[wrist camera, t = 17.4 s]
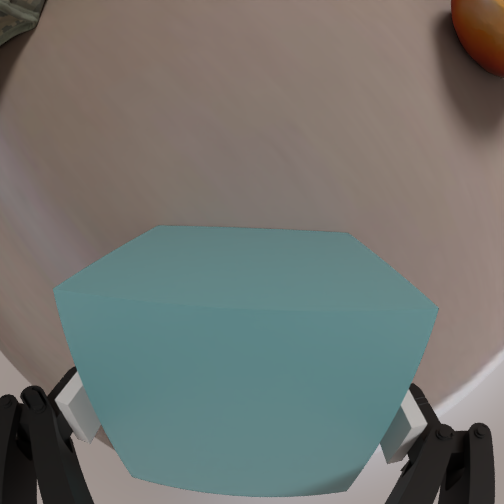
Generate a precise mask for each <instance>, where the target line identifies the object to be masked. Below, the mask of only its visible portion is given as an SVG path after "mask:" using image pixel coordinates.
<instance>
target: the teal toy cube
mask: <svg viewBox="0 0 504 504" xmlns="http://www.w3.org/2000/svg"><path fill="white" fill-rule="evenodd" d="M53 291H54V296H55V300H56V304H57V308H58V312H59V316H60V319H61V323H62V326H63V330H64V333H65V336H66V340H67V343H68V346H69V349H70V352H71V355H72V357H73V360H74V363H75V366H76V368H77V371H78V374H79V376H80V379H81V381H82V384H83V386H84V388H85V391H86V393H87V395H88V398H89V400H90V402H91V404H92V406H93V409H94V411H95V413H96V415H97V417H98V419H99V421H100V423H101V425H102V427H103V429H104V431H105V432H106V434H107V436H108V438H109V440H110V442H111V443H112V445H113V447H114V449H115V450H116V452H117V454H118V455H119V457H120V459H121V460H122V462H123V464H124V465H125V467H126V468H127V470H128V471H129V473H130V474H131V476H132V477H134V478H138V479H141V480H145V481H149V482H153V483H157V484H161V485H166V486H171V487H176V488H180V489H186V490H192V491H198V492H205V493H213V494H223V495H233V496H250V497H293V496H309V495H321V494H329V493H337V492H344V491H347V490H348V489H349V487H350V486H351V485H352V483H353V482H354V481H355V479H356V478H357V476H358V475H359V474H360V472H361V471H362V469H363V468H364V466H365V465H366V463H367V462H368V461H369V459H370V457H371V456H372V454H373V453H374V451H375V450H376V448H377V446H378V445H379V443H380V442H381V440H382V438H383V436H384V435H385V433H386V431H387V430H388V428H389V426H390V424H391V422H392V421H393V419H394V417H395V415H396V413H397V411H398V409H399V407H400V405H401V403H402V401H403V399H404V397H405V395H406V393H407V391H408V389H409V387H410V385H411V382H412V380H413V378H414V376H415V373H416V371H417V368H418V366H419V364H420V361H421V359H422V356H423V354H424V351H425V348H426V346H427V343H428V340H429V337H430V334H431V332H432V329H433V326H434V323H435V319H436V316H437V313H438V310H439V308H438V307H437V306H436V305H435V304H434V303H433V302H432V301H431V300H429V299H428V298H427V297H426V296H425V295H424V294H423V293H422V292H420V291H419V290H418V289H417V288H416V287H415V286H413V285H412V284H411V283H410V282H409V281H408V280H406V279H405V278H404V277H403V276H402V275H400V274H399V273H398V272H397V271H396V270H394V269H393V268H392V267H391V266H390V265H388V264H387V263H386V262H385V261H383V260H382V259H381V258H380V257H378V256H377V255H376V254H375V253H373V252H372V251H371V250H370V249H368V248H367V247H366V246H365V245H363V244H362V243H361V242H359V241H358V240H357V239H356V238H354V237H353V236H352V235H350V234H349V233H341V232H324V231H305V230H284V229H262V228H236V227H204V226H160V225H158V226H156V227H154V228H153V229H151V230H149V231H147V232H145V233H144V234H142V235H140V236H138V237H137V238H135V239H133V240H131V241H129V242H128V243H126V244H124V245H123V246H121V247H119V248H117V249H116V250H114V251H112V252H111V253H109V254H107V255H106V256H104V257H102V258H101V259H99V260H97V261H96V262H94V263H92V264H91V265H89V266H88V267H86V268H84V269H83V270H81V271H80V272H78V273H76V274H75V275H73V276H72V277H70V278H69V279H67V280H66V281H64V282H62V283H61V284H59V285H58V286H56V287H55V288H53Z"/></svg>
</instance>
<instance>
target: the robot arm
mask: <svg viewBox="0 0 504 504" xmlns="http://www.w3.org/2000/svg"><path fill="white" fill-rule="evenodd" d="M20 398H21V399H22V401H23V403H24V404H22V403H19V402H18V401H17V399H16V398H15V397H14V396H13V395H10V394H8V395H4V396H2V397H1V398H0V504H37V480H38V485H39V489H40V493H41V497H42V500H43V504H94V502H93V500H92V497H91V495H90V492H89V490H88V487H87V484H86V482H85V479H84V476H83V473H82V471H81V468H80V465H79V461H78V458H77V455H76V452H75V448H74V445H73V441H72V439H71V437H70V436H71V434H72V432H74V434H75V436H76V437H77V439H79V440H82V441H84V442H87V443H90V444H91V442H92V440H93V438H94V436H95V435H96V433H97V431H98V429H99V427H100V426H101V423H100V421H99V419H98V417H97V415H96V413H95V411H94V409H93V406H92V404H91V402H90V400H89V398H88V395H87V393H86V391H85V388H84V386H83V384H82V381H81V379H80V376H79V374H78V371H77V368H76V366H75V367H73V368H71V369H70V370H69V371H68V372H67V373H66V374H65V375H64V377H63V378H62V379H61V380H60V382H59V383H58V384H57V385H56V386H55V387H54V389H53V390H52V391H51V392H50V394H49V395H48V396H46V394H45V392H44V390H43V389H42V388H41V387H39V386H29V387H27V388H25V389H24V390H23V391H22V393H21V396H20ZM380 445H381V447H382V450H383V453H384V456H385V459H386V462H387V464H390V463H394V462H398V461H402V460H403V458H404V457H405V456H406V454H408V457H409V461H408V462H407V463H406V465H405V466H404V467H403V468H402V469H401V471H403V472H402V474H401V476H400V478H399V479H398V481H397V483H396V485H395V487H394V489H393V490H392V492H391V494H390V496H389V497H388V499H387V501H386V503H385V504H433V502H434V500H435V497H436V495H437V492H438V490H439V487H440V494H439V501H438V504H494V502H495V476H494V475H495V472H494V456H493V445H492V436H491V431H490V429H489V428H488V426H487V425H485V424H483V423H475V424H473V425H472V426H471V427H470V429H469V430H468V431H454V430H453V429H452V428H451V427H450V426H448V425H446V424H441V423H440V421H439V420H438V418H437V416H436V414H435V413H434V411H433V409H432V407H431V406H430V404H429V403H428V400H427V399H426V398H425V395H424V394H423V392H422V390H421V389H420V388H419V387H418V386H416V385H415V384H414V383H412V384H411V385H410V387H409V389H408V391H407V393H406V395H405V397H404V399H403V401H402V403H401V405H400V407H399V409H398V411H397V413H396V415H395V417H394V419H393V421H392V422H391V424H390V426H389V428H388V430H387V431H386V433H385V435H384V436H383V438H382V440H381V442H380ZM440 485H441V486H440Z"/></svg>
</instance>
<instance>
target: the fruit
mask: <svg viewBox="0 0 504 504" xmlns="http://www.w3.org/2000/svg"><path fill="white" fill-rule="evenodd" d="M451 12H452V20H453V25H454V28H455V30H456V33H457V35H458V38H459V40H460V42H461V44H462V46H463V47H464V49H465V50H466V51H467V53H468V54H469V55H470V56H471V57H472V58H473V59H474V60H475V61H476V62H477V63H478V64H479V65H480V66H481V67H482V68H484V69H485V70H486V71H487V72H489V73H492V74H494V75H496V76H499V77H501V78H504V0H451Z"/></svg>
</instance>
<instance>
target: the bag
mask: <svg viewBox="0 0 504 504" xmlns="http://www.w3.org/2000/svg"><path fill="white" fill-rule="evenodd" d="M44 1H45V0H0V45H1V44H3V43H5V42H6V41H8V40H9V39H11V38H12V37H14V36H16V35H18V34H20V33H22V32H25V31H28V30H31V29H33V28H35V26H36V25H37V23H38V20H39V16H40V13H41V10H42V7H43V4H44Z"/></svg>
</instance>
